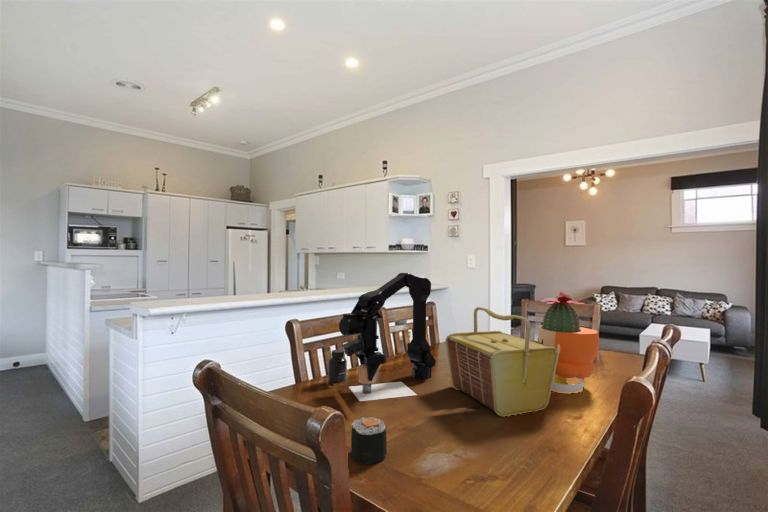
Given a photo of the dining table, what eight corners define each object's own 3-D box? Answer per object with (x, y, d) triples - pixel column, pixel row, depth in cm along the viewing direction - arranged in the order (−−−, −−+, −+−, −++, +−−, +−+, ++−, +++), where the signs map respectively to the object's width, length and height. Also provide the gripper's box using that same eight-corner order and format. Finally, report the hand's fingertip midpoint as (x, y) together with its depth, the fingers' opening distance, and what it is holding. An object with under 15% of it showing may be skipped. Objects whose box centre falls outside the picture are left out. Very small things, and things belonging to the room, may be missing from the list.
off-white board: (401, 385, 142) (401, 381, 142) (417, 399, 129) (417, 394, 129) (348, 390, 135) (348, 386, 135) (359, 405, 122) (359, 401, 122)
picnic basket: (442, 389, 139) (444, 306, 139) (500, 382, 149) (502, 304, 149) (492, 423, 112) (494, 320, 112) (560, 412, 121) (563, 317, 121)
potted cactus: (532, 389, 142) (534, 294, 142) (538, 373, 162) (541, 290, 162) (599, 400, 132) (601, 298, 132) (597, 382, 152) (599, 293, 152)
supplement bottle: (342, 387, 139) (343, 353, 139) (325, 385, 140) (325, 352, 140) (348, 381, 146) (349, 349, 146) (331, 379, 147) (332, 348, 147)
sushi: (375, 443, 98) (376, 412, 98) (391, 459, 91) (392, 425, 91) (345, 450, 94) (346, 418, 94) (360, 467, 87) (361, 432, 87)
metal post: (369, 390, 132) (369, 378, 132) (372, 393, 129) (372, 381, 129) (361, 391, 131) (361, 379, 131) (363, 394, 128) (364, 382, 128)
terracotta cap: (372, 377, 134) (372, 363, 134) (377, 382, 129) (378, 368, 129) (356, 379, 132) (357, 364, 132) (361, 384, 127) (362, 369, 127)
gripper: (338, 327, 136) (337, 372, 136) (352, 339, 119) (351, 389, 119) (368, 326, 140) (367, 369, 140) (386, 337, 123) (385, 386, 123)
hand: (367, 378), depth 130 cm, fingers closed on terracotta cap, 6 cm apart
